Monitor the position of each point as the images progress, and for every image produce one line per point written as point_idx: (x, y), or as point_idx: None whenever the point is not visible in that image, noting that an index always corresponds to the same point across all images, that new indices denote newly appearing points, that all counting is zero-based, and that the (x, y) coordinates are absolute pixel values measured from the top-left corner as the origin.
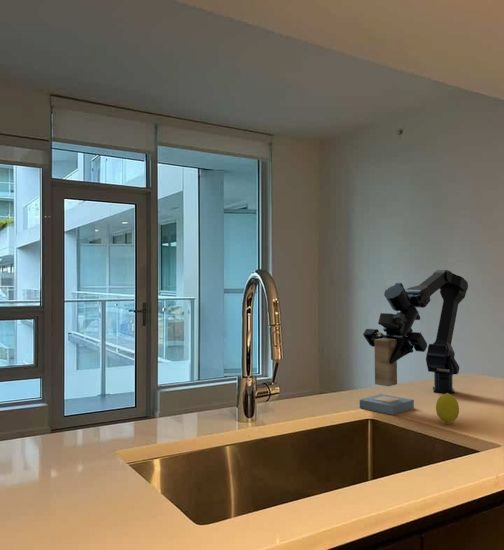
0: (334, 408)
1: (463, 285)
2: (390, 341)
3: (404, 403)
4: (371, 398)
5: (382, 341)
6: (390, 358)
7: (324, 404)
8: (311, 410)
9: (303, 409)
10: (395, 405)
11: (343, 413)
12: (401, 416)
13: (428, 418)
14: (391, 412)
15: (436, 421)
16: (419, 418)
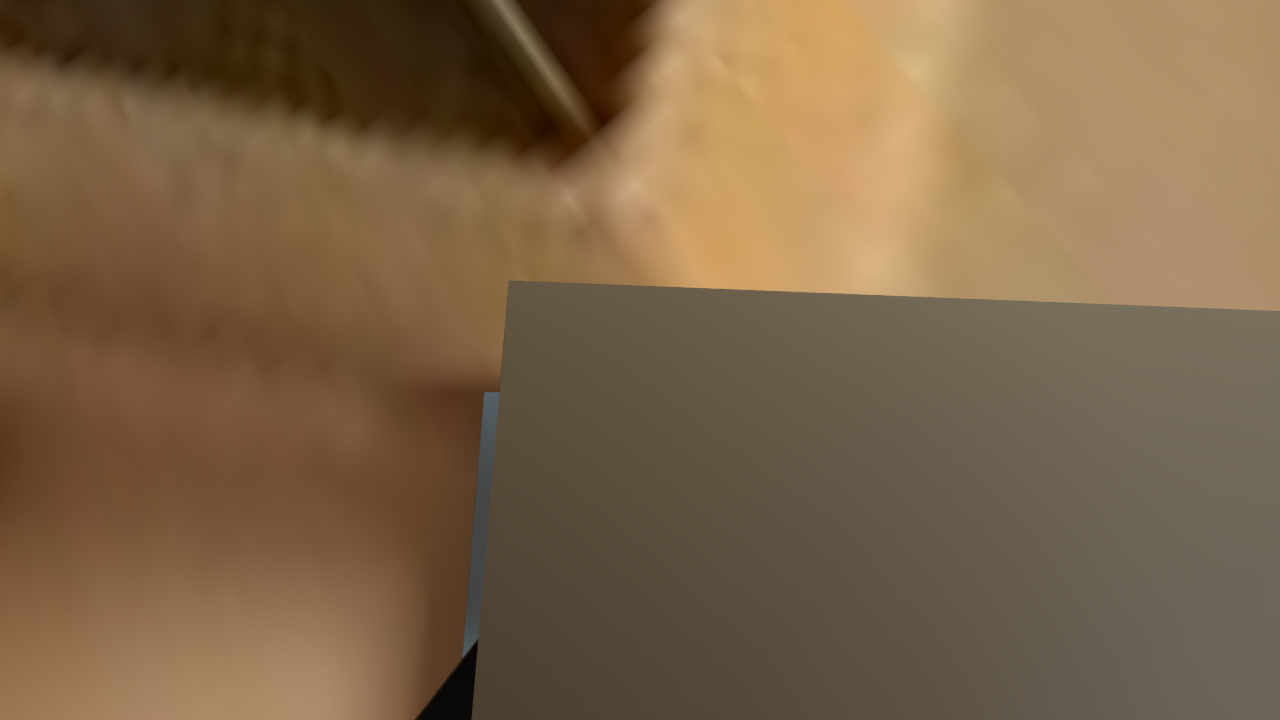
0: (1069, 235)
1: None
2: (489, 681)
3: (464, 649)
4: None
5: (987, 323)
6: None
7: (1259, 299)
8: (1153, 36)
9: (1228, 16)
10: (480, 447)
11: (879, 142)
12: (409, 420)
13: (163, 539)
14: None
15: (61, 486)
16: (236, 475)
